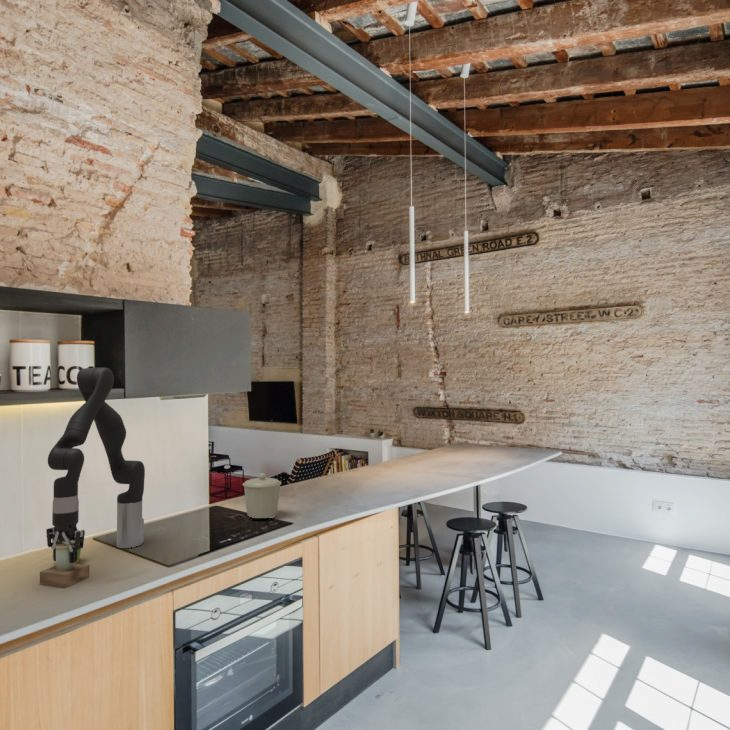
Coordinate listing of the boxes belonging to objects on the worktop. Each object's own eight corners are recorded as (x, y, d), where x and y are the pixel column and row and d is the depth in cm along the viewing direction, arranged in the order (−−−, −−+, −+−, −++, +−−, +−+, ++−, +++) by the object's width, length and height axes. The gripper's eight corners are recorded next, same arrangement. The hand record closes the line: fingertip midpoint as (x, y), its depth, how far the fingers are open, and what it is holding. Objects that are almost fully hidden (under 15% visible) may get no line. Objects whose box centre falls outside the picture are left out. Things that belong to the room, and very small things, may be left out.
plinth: (65, 574, 185) (65, 562, 185) (89, 577, 181) (89, 565, 182) (39, 584, 175) (39, 571, 175) (63, 588, 172) (64, 575, 172)
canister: (254, 525, 246) (254, 478, 247) (235, 517, 260) (235, 473, 260) (288, 518, 258) (288, 473, 259) (268, 511, 272) (268, 468, 272)
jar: (65, 564, 182) (65, 541, 182) (78, 566, 180) (78, 542, 180) (51, 570, 177) (51, 545, 177) (64, 571, 175) (64, 547, 175)
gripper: (92, 508, 180) (91, 560, 180) (58, 505, 185) (57, 555, 184) (73, 513, 173) (72, 567, 173) (38, 510, 178) (38, 563, 177)
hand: (65, 561), depth 178 cm, fingers open, 6 cm apart
